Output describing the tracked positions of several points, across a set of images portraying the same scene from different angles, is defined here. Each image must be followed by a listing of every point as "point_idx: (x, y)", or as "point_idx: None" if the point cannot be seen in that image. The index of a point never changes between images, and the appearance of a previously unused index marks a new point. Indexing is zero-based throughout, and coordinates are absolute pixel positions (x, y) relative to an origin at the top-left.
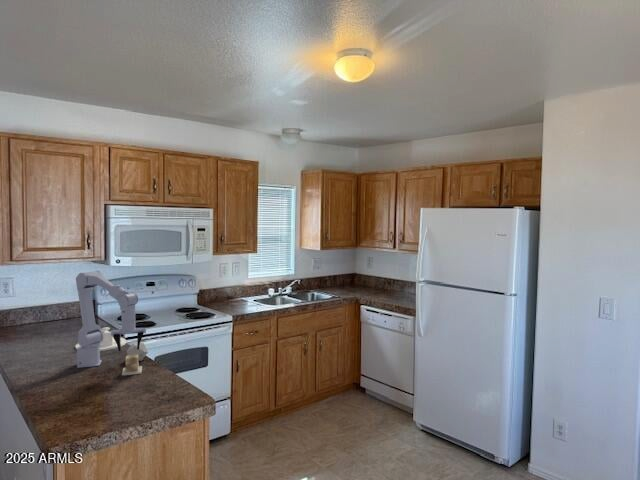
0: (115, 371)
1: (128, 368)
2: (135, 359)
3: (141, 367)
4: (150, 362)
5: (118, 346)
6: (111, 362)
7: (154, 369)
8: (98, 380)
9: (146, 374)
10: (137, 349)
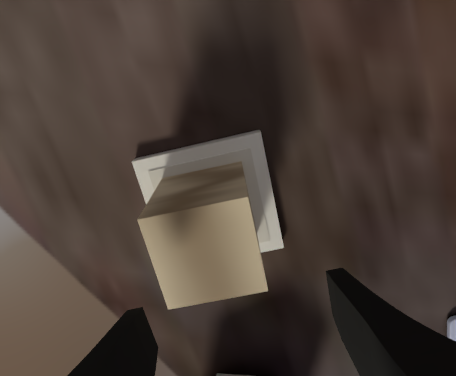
0: (325, 215)
1: (222, 171)
2: (160, 209)
3: None
4: None
5: (369, 297)
6: None
7: (77, 228)
8: (403, 41)
9: (91, 136)
10: (139, 308)
